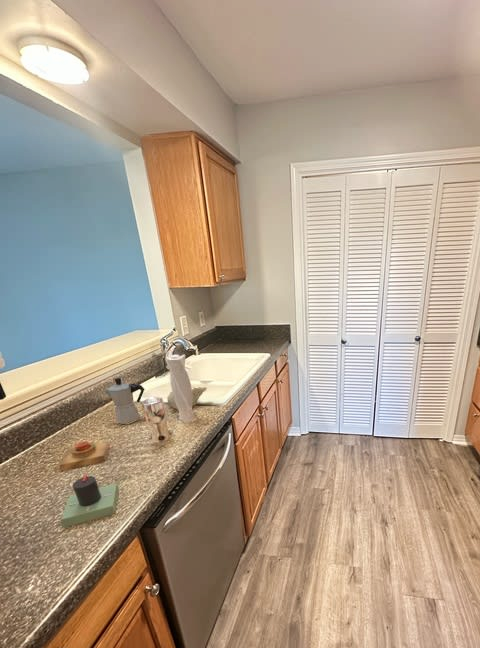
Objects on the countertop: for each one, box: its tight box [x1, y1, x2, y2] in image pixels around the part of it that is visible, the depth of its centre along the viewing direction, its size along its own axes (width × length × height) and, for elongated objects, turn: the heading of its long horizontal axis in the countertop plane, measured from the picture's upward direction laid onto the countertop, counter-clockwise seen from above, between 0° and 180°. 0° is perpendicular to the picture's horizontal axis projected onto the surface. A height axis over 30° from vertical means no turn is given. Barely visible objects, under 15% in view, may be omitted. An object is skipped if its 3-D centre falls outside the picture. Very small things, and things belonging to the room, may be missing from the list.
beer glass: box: [141, 396, 172, 444], centre depth 112 cm, size 7×7×15 cm
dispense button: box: [74, 440, 90, 451], centre depth 104 cm, size 4×4×2 cm
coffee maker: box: [102, 377, 146, 424], centre depth 128 cm, size 15×9×18 cm, turn 104°
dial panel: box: [60, 483, 120, 529], centre depth 82 cm, size 11×10×3 cm
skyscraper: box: [165, 349, 197, 424], centre depth 124 cm, size 8×8×28 cm
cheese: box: [167, 386, 208, 410], centre depth 141 cm, size 15×7×15 cm
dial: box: [72, 475, 101, 506], centre depth 81 cm, size 5×5×6 cm
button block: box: [58, 441, 110, 472], centre depth 105 cm, size 12×10×4 cm
